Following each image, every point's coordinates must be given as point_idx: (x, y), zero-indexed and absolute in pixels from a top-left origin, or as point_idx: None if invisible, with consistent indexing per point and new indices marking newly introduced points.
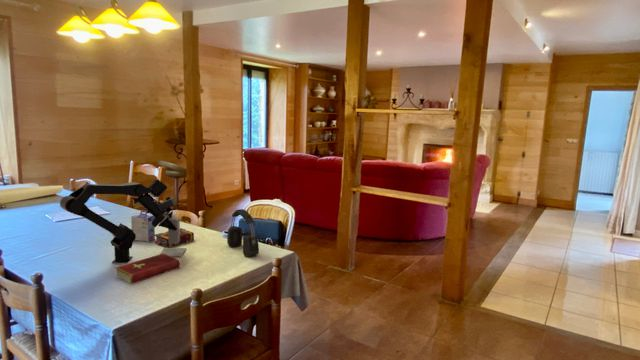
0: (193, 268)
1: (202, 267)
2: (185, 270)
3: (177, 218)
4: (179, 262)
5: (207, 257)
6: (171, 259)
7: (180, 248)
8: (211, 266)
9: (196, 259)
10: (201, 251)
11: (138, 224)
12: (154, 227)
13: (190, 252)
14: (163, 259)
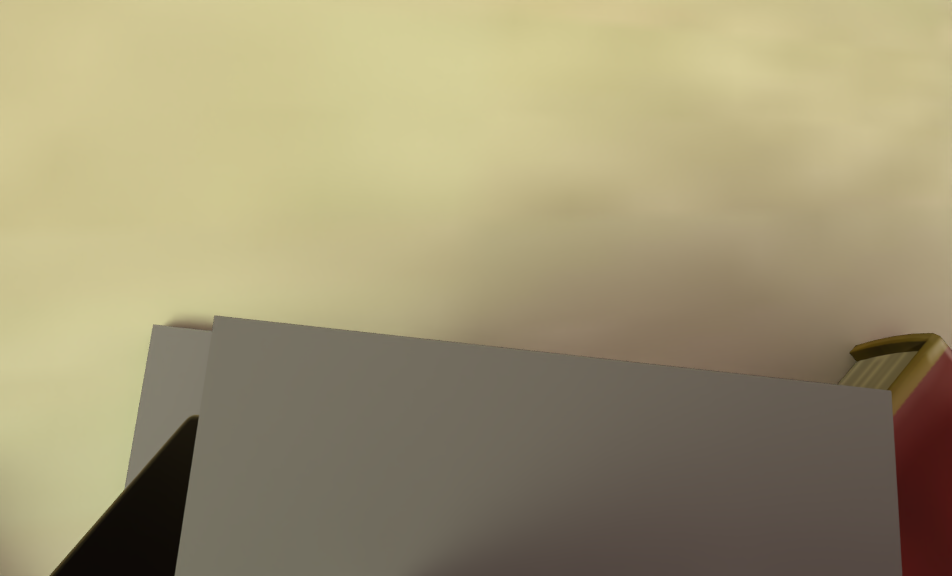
0: (873, 195)
1: (848, 101)
2: (921, 277)
3: (471, 443)
4: (921, 340)
5: (557, 27)
6: (935, 450)
7: (165, 424)
8: (824, 10)
9: (615, 162)
10: (300, 88)
11: None
12: None
13: (321, 250)
14: (940, 570)
